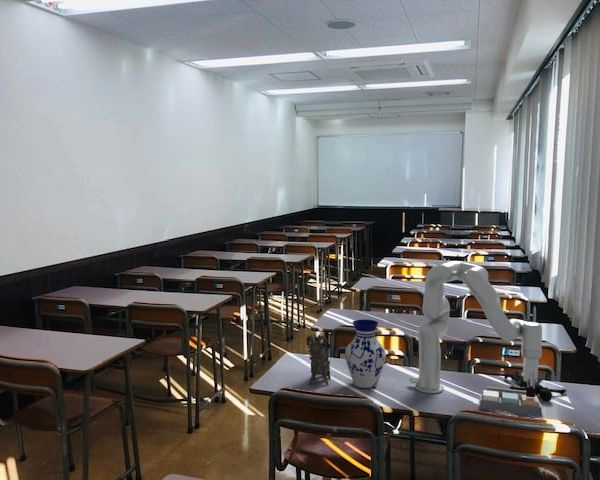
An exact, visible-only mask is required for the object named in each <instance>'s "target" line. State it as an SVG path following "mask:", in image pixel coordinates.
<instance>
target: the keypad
mask: <svg viewBox="0 0 600 480" xmlns="http://www.w3.org/2000/svg"><path fill="white" fill-rule="evenodd" d="M486 389H487V390H488V391H497V392H499V402H495V401H487V400H483V393H480V395H479V402H478V403H479V404H478V408H479V409H480V410H481V409H482V410H490V409H491V411H496V410H500V411H499V412H504V411H506V412H505V413H512V412H515V413H514V414H519V413H520V415H529V416H536V417H537V416H538V417H544V416H543V410H542V404H541V399H540V400H539V399H538V401H539V404H538V407H536V406H528V405H522V402H521V397H522V395H526V391H521V390H513V389H509V388H504V387H496V386H495V387H494V386H493V387H492V386H486ZM502 392H505V393H514V394H518V404H511V403H503V402H502Z"/></svg>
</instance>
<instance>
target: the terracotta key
mask: <svg viewBox="0 0 600 480" xmlns="http://www.w3.org/2000/svg"><path fill="white" fill-rule="evenodd" d="M538 400H539V396H538V395H535V397H534V398H533V397H527V396H526V395H522V397H521V402H522V405H528V406H536V407H538V404H539V401H538Z"/></svg>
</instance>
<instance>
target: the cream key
mask: <svg viewBox="0 0 600 480" xmlns="http://www.w3.org/2000/svg"><path fill="white" fill-rule="evenodd" d="M482 394H483V400H487V401H495V402H499V392H497V391H488V390H486V389H483V393H482Z"/></svg>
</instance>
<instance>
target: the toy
mask: <svg viewBox="0 0 600 480" xmlns="http://www.w3.org/2000/svg"><path fill="white" fill-rule="evenodd" d="M503 378H504V379H505V380H507V379H508V378H510V380H513V381H515V382H516V384H517V385H518V386H512V385H510V386H508V389H513V390H521V391H526V386H527V381H526V382H525V381H524V379H523V375H522V376H521V375H520V374H517V373H510V372H505V373H504V377H503ZM543 380H544V379H543V378H542V377H537V382H536V383H535V396H538V399H540V400H541V403H549V402H551V401H552V398H553V393H557V394H560V395H561V396H564V395H566V394H567V389H566V388H565V389H556V388H549V387H545V386H542V385H541V384H540V383H542V382H543Z"/></svg>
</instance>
